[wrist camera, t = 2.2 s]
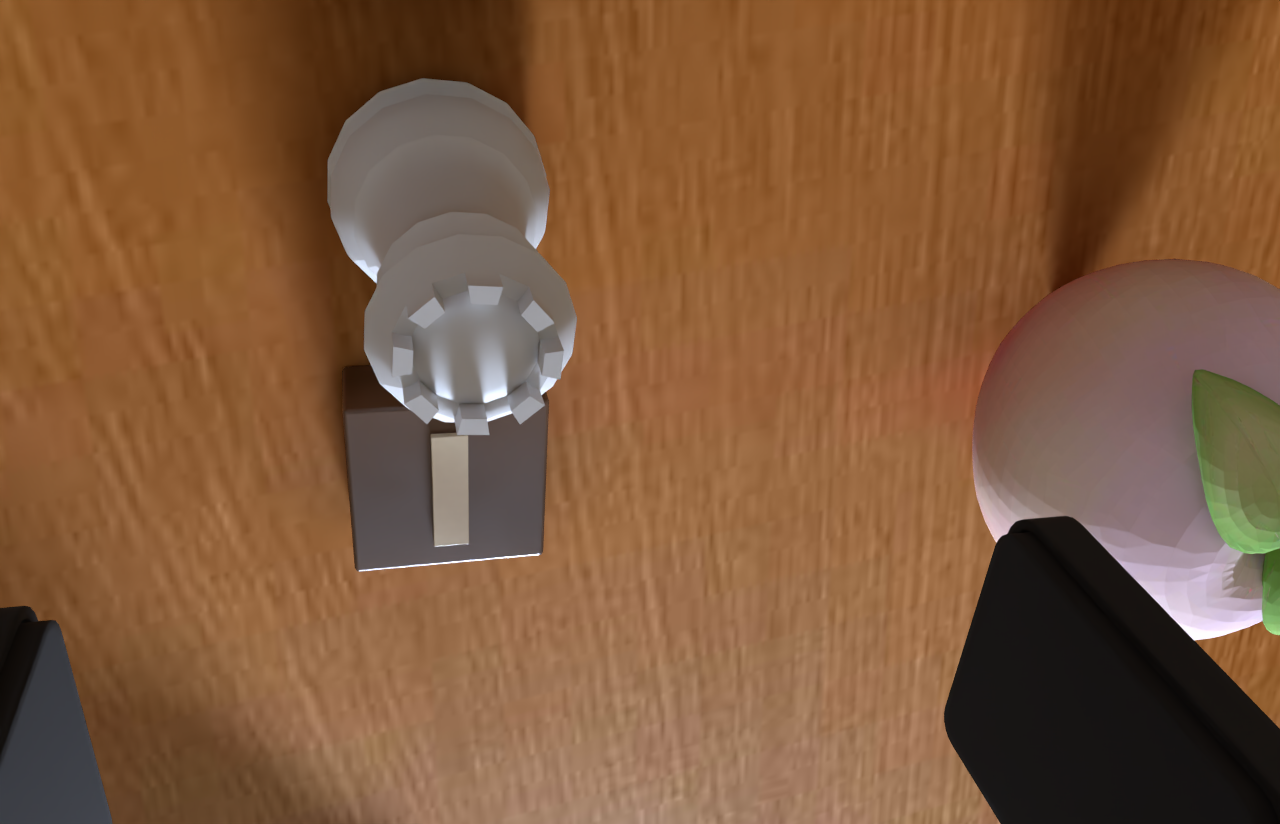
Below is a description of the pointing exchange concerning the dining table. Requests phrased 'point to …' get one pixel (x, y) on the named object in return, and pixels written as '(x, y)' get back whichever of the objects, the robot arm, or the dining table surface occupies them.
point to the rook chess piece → (452, 252)
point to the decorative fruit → (1148, 432)
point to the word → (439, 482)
